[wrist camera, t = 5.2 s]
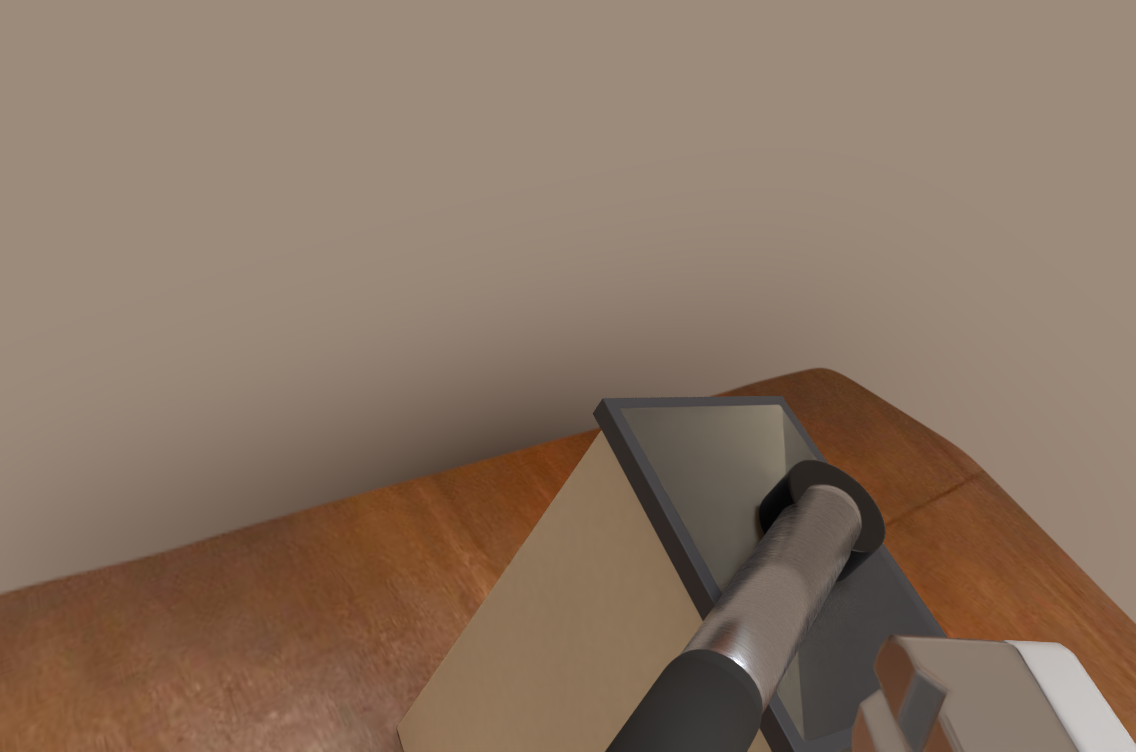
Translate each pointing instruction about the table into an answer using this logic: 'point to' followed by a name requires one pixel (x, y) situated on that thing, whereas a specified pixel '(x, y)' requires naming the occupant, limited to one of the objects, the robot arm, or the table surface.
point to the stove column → (654, 592)
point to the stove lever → (759, 617)
